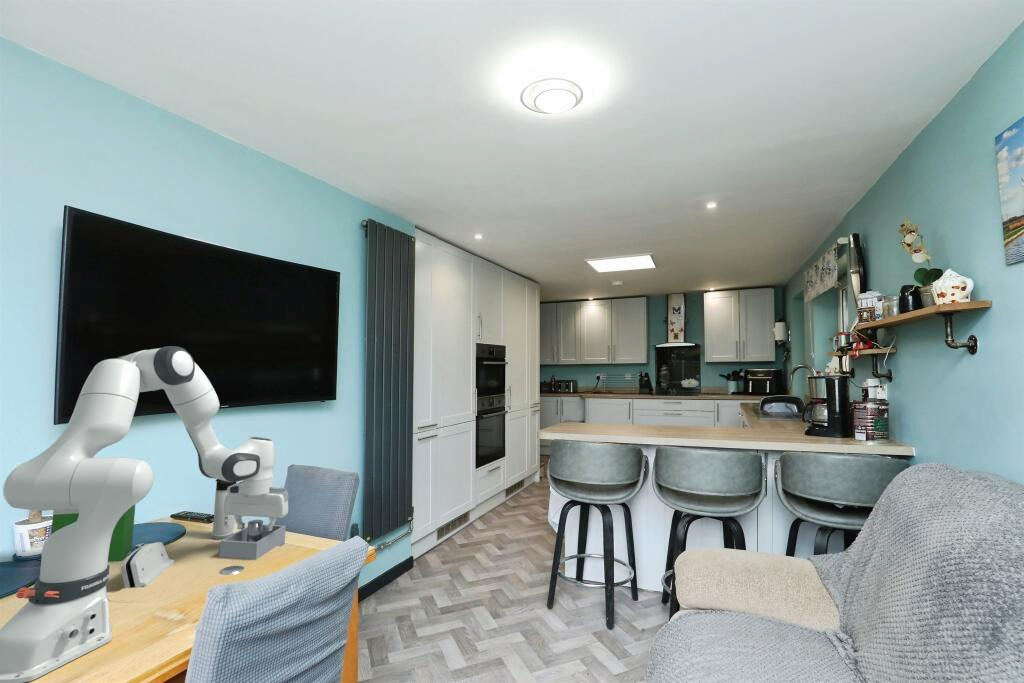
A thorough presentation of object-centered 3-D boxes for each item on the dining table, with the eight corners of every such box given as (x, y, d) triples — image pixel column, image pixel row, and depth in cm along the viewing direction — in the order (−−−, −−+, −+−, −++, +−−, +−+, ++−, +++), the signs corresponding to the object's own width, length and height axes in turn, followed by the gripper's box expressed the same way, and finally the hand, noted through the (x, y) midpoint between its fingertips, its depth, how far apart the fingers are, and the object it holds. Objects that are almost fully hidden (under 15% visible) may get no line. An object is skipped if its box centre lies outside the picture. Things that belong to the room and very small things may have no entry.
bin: (255, 563, 147) (257, 543, 147) (218, 560, 148) (220, 541, 148) (284, 543, 164) (285, 525, 164) (251, 541, 164) (252, 523, 165)
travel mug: (216, 533, 171) (220, 477, 172) (236, 533, 172) (240, 477, 173) (207, 539, 165) (212, 481, 166) (227, 539, 165) (232, 481, 167)
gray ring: (235, 579, 136) (235, 575, 136) (213, 577, 136) (213, 574, 136) (248, 569, 142) (249, 566, 142) (228, 568, 142) (228, 565, 142)
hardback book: (47, 566, 139) (56, 483, 141) (61, 557, 146) (69, 477, 148) (121, 560, 145) (128, 480, 147) (131, 552, 152) (137, 475, 154)
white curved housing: (146, 590, 127) (135, 555, 127) (127, 598, 126) (115, 562, 126) (176, 565, 143) (166, 533, 143) (159, 571, 142) (149, 539, 142)
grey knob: (265, 547, 158) (267, 519, 159) (256, 553, 153) (258, 524, 153) (250, 546, 158) (252, 518, 159) (240, 552, 153) (243, 523, 154)
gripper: (293, 486, 159) (290, 528, 159) (234, 483, 161) (231, 524, 160) (283, 490, 153) (280, 534, 152) (222, 487, 154) (218, 531, 153)
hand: (254, 529), depth 156 cm, fingers open, 8 cm apart
